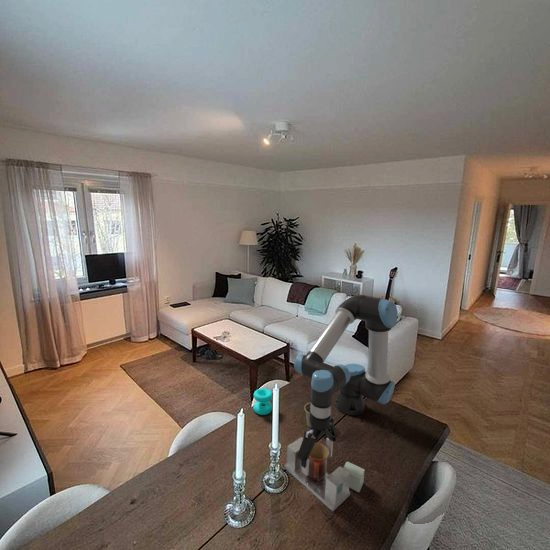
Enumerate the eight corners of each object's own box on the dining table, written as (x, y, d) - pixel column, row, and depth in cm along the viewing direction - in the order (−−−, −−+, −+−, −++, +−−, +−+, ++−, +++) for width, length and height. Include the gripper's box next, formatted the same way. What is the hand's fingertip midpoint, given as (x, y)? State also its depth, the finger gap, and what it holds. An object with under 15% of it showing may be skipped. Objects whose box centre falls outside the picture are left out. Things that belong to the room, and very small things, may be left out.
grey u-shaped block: (301, 455, 128) (302, 435, 127) (350, 495, 110) (352, 473, 109) (284, 467, 122) (284, 446, 120) (333, 512, 104) (335, 488, 102)
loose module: (345, 474, 120) (346, 461, 118) (363, 483, 116) (364, 469, 115) (340, 483, 115) (342, 469, 114) (359, 492, 112) (360, 478, 111)
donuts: (269, 399, 150) (250, 395, 153) (268, 418, 152) (250, 413, 155) (275, 389, 159) (257, 385, 162) (275, 406, 161) (257, 402, 164)
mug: (305, 463, 122) (307, 440, 120) (327, 467, 121) (329, 444, 119) (302, 488, 111) (304, 464, 109) (326, 493, 109) (328, 468, 107)
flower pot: (322, 432, 143) (324, 415, 141) (302, 429, 144) (303, 412, 143) (323, 419, 152) (324, 403, 151) (304, 416, 154) (304, 401, 152)
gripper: (333, 395, 122) (330, 442, 126) (288, 422, 105) (286, 474, 109) (349, 404, 116) (345, 453, 120) (304, 433, 100) (301, 488, 104)
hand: (317, 463), depth 115 cm, fingers open, 13 cm apart
